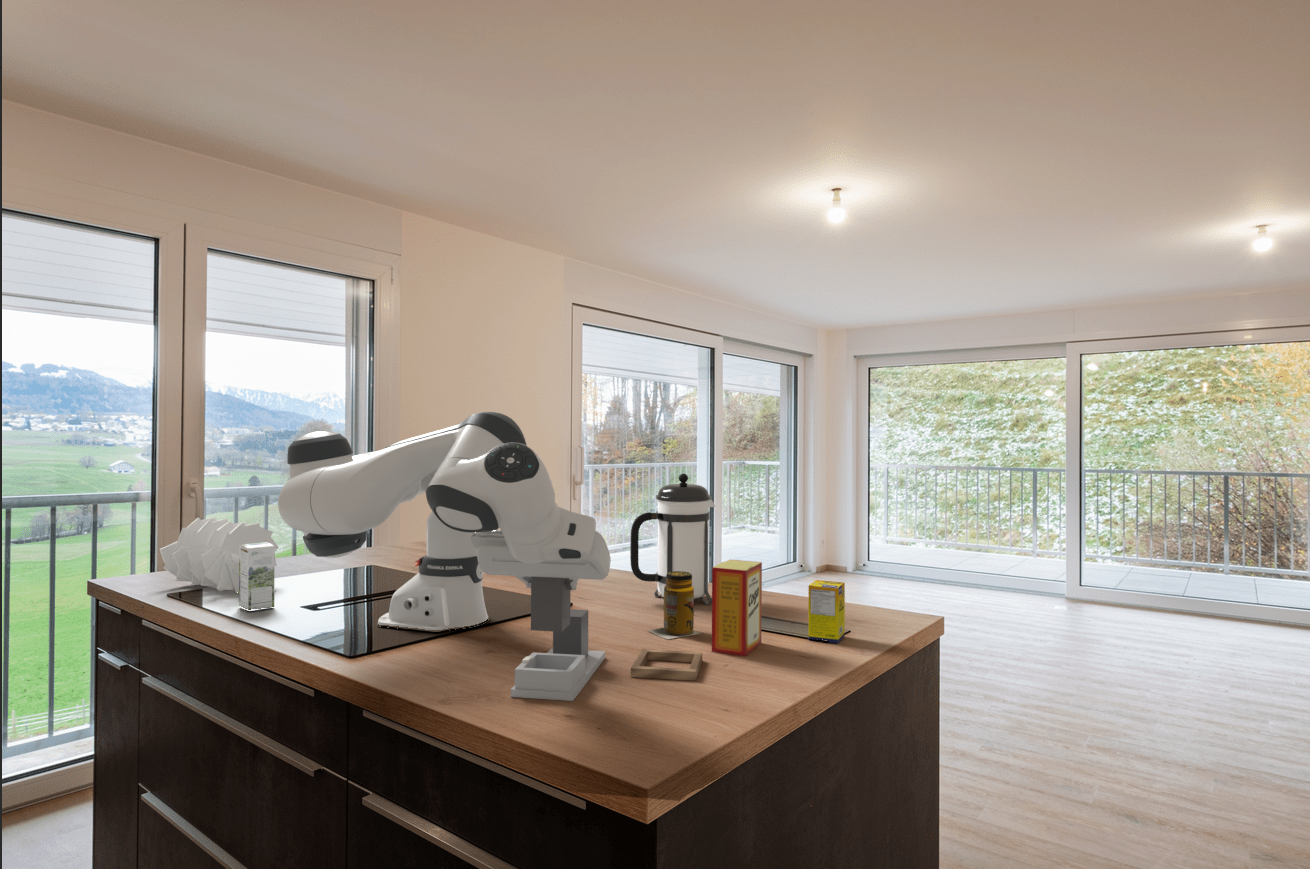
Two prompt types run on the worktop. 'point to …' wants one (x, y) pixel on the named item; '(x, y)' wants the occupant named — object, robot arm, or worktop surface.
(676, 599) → the condiment
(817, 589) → the supplement box
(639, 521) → the coffee press
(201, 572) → the spiral staircase
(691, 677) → the holder frame
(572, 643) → the tray and post stand
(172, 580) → the worktop surface
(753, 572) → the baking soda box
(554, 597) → the dark grey block
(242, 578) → the syrup box
